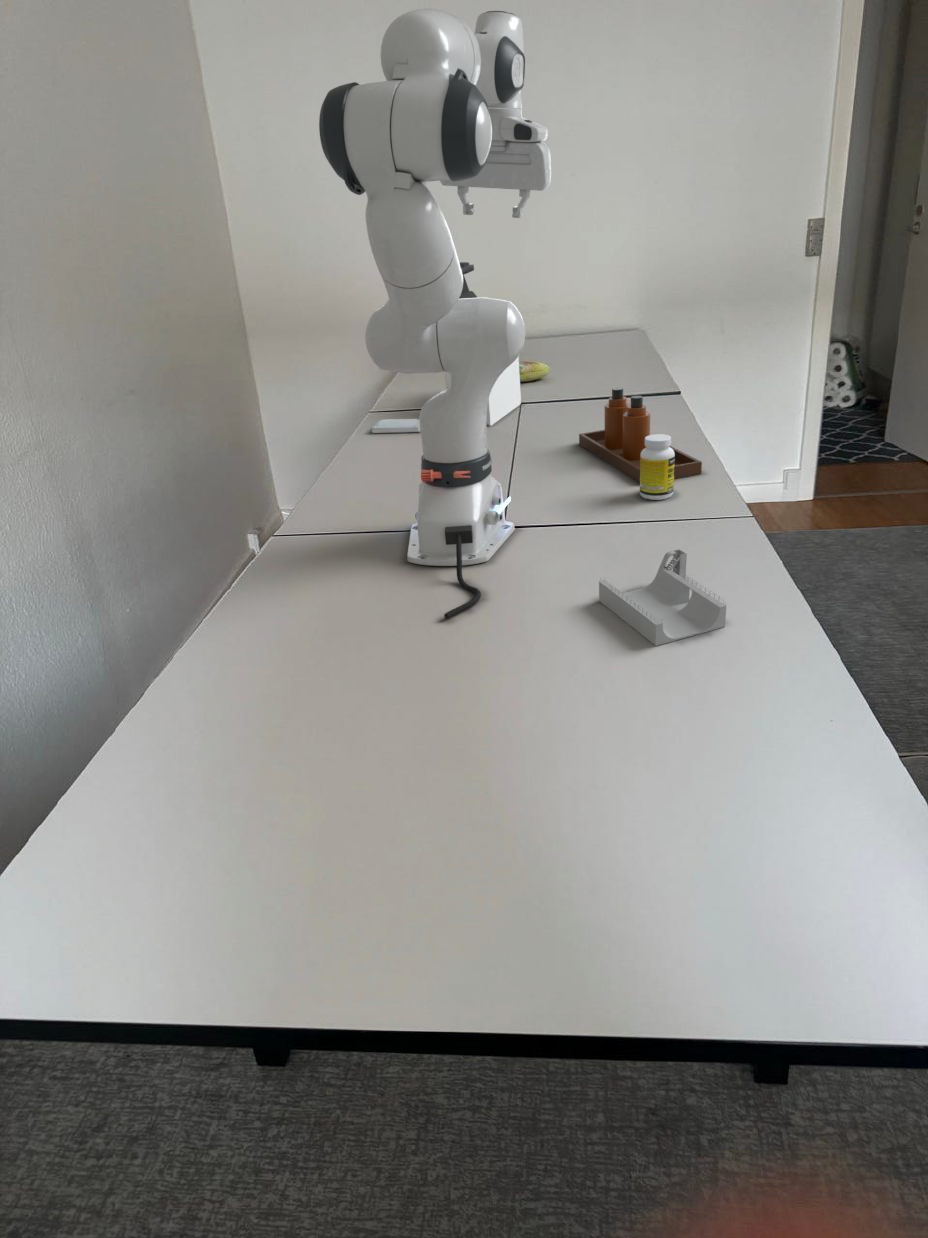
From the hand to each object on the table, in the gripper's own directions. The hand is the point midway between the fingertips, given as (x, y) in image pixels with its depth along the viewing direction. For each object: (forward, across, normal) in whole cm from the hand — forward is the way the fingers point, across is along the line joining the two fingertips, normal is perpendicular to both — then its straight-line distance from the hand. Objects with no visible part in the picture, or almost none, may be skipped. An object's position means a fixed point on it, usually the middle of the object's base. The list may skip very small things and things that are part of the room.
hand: (492, 216), depth 152 cm
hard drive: (+55, -34, +32) cm, 72 cm away
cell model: (+54, -16, +86) cm, 102 cm away
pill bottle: (+45, +38, -10) cm, 59 cm away
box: (+53, -18, +54) cm, 78 cm away
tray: (+46, +30, +12) cm, 56 cm away
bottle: (+60, -52, +128) cm, 151 cm away
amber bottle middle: (+46, +30, +12) cm, 56 cm away
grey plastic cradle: (+42, +46, -56) cm, 84 cm away
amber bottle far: (+46, +24, +20) cm, 56 cm away
